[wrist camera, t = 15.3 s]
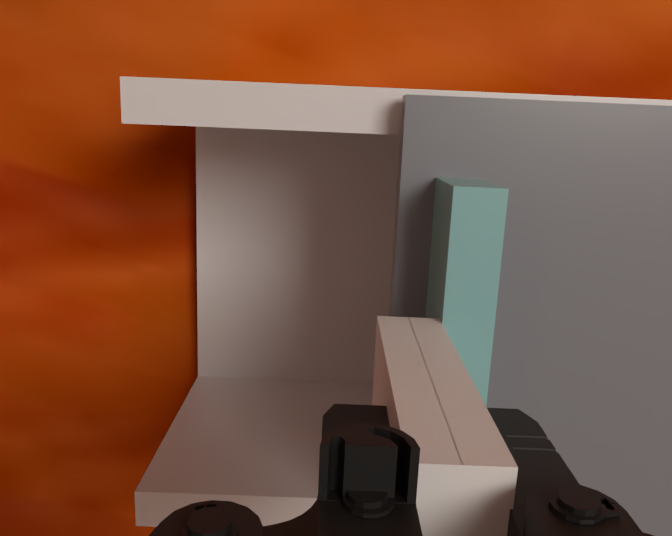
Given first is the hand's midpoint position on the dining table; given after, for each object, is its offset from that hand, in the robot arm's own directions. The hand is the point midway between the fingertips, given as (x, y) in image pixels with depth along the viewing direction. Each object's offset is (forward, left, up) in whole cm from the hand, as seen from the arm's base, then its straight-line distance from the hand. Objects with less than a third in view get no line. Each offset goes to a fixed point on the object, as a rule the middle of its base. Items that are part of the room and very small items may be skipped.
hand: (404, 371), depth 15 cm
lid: (+5, 0, -3) cm, 6 cm away
